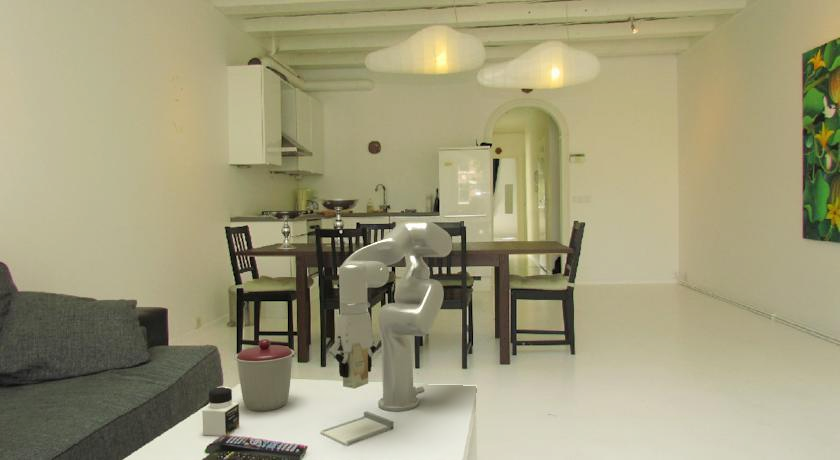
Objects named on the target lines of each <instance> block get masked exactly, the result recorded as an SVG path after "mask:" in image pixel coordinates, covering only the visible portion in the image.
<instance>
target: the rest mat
mask: <svg viewBox="0 0 840 460" xmlns="http://www.w3.org/2000/svg"><path fill="white" fill-rule="evenodd" d="M394 426H395V425H394V421H393V420H391V419H387V418H385V417H383V416H380V415H377V414H374V413H373V412H370V411H364V412H363V416H361V417H359V418H355V419H353V420H350V421H347V422H344V423H340V424H338V425H335V426H331V427H329V428H326V429H323V430H320V431H319V433H320V435H321V436H324V437H326V438H329V439H331V440H333V441H335V442H337V443H338V444H339V443H340V444H341V445H343V446H346V447H347V446H351V445H353V444H357V443H359V442H360V441H364V440H367V439H369V438H373V437H375V436H377V435H380V434H383V433H386V432H388V431H391V430H394V429H395V427H394Z"/></svg>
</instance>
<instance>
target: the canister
mask: <svg viewBox="0 0 840 460" xmlns="http://www.w3.org/2000/svg"><path fill="white" fill-rule="evenodd" d="M294 355H295V350H293V349H291V348H290V347H288V346H285V345H280V344H279V345H278V344H271V341H270V339H267V338H263V339H260V340H259V342H258V346H256V345H255V346H253V347H248V348H246V349H245V348H244V349H242V350H241V351H240V352H238V353H237V354H236V355H235V356H234V360H235V361H236V362H237V370H238V376H239V383H240V391H241V397H242V401H243V404H244V406H245V407H246V408H247V409H248V410H250V411H255V412H265V411H266V412H267V411H273V410H277V409H278V408H279V409H280V408H281V407H283V406H284V405H286V403H287V401H288V400H289V395H290V387H291V377H292V365H293V356H294Z"/></svg>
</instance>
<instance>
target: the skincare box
mask: <svg viewBox="0 0 840 460" xmlns="http://www.w3.org/2000/svg"><path fill="white" fill-rule="evenodd" d="M343 355H344V353H343ZM346 363H348V372H349V377H348V378H344V377H342V387H345V388H350V389H355V390H356V389H357V388H360V387H362V386H366V385H368V384H369V372H368V350H367V349H362V347H361V345H360V343H353V346H352V352H350V353H349V356H348V358H347V361H346Z"/></svg>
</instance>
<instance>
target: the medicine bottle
mask: <svg viewBox="0 0 840 460" xmlns="http://www.w3.org/2000/svg"><path fill="white" fill-rule="evenodd" d="M232 392H233V390H232V388H231V387H230V386H217V387H214V388H212V389H210V390H209V391H208V406H206V407H204V408H203V409H202V410H201V411H202V412H201V414H202V434H203V436H213V437H215V436H216V437H224V436H223V435H227V436H230V434H231V433H233V432H234V431H236V430H237V429H239V428H240V411H239V409H240V407H239V405H240V404H239V402H237V401H235V402H234V401H233V393H232Z"/></svg>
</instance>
